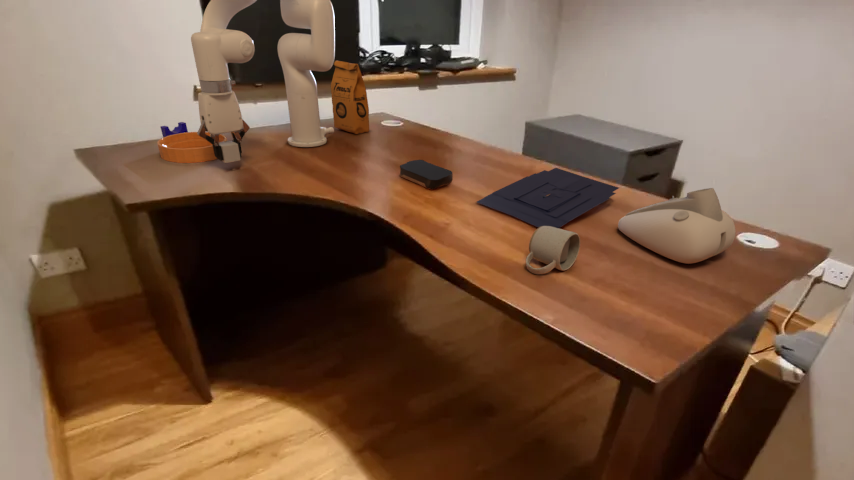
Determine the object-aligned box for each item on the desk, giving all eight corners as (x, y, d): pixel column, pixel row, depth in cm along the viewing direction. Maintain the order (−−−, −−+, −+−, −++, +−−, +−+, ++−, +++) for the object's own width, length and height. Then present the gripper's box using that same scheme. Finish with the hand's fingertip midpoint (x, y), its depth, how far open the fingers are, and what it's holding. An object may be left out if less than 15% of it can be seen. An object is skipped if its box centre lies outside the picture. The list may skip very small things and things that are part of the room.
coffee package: (352, 136, 185) (348, 65, 172) (330, 129, 191) (324, 61, 179) (374, 131, 191) (371, 63, 178) (351, 124, 198) (347, 58, 185)
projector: (708, 230, 126) (729, 168, 117) (742, 276, 107) (770, 206, 99) (613, 223, 128) (627, 162, 119) (630, 267, 109) (648, 198, 100)
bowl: (212, 143, 173) (209, 128, 170) (240, 157, 162) (237, 141, 159) (151, 153, 162) (147, 138, 159) (176, 169, 151) (172, 153, 148)
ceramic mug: (544, 251, 114) (549, 217, 109) (577, 263, 110) (584, 228, 105) (514, 268, 108) (518, 232, 103) (549, 282, 103) (555, 245, 99)
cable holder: (182, 133, 181) (179, 121, 179) (188, 135, 180) (185, 122, 177) (160, 138, 176) (157, 125, 173) (167, 140, 174) (164, 127, 172)
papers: (624, 199, 137) (626, 186, 135) (549, 243, 123) (551, 229, 120) (549, 175, 152) (550, 162, 150) (475, 211, 137) (474, 198, 135)
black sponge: (455, 186, 146) (456, 172, 144) (432, 192, 141) (432, 178, 139) (419, 170, 156) (419, 158, 154) (395, 176, 151) (395, 163, 149)
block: (233, 156, 152) (230, 140, 150) (240, 160, 149) (238, 143, 147) (218, 159, 149) (215, 142, 147) (225, 163, 147) (222, 146, 144)
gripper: (239, 81, 146) (250, 150, 156) (177, 87, 136) (193, 160, 146) (253, 86, 142) (263, 155, 152) (189, 92, 132) (205, 166, 142)
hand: (229, 157), depth 149 cm, fingers closed on block, 4 cm apart
